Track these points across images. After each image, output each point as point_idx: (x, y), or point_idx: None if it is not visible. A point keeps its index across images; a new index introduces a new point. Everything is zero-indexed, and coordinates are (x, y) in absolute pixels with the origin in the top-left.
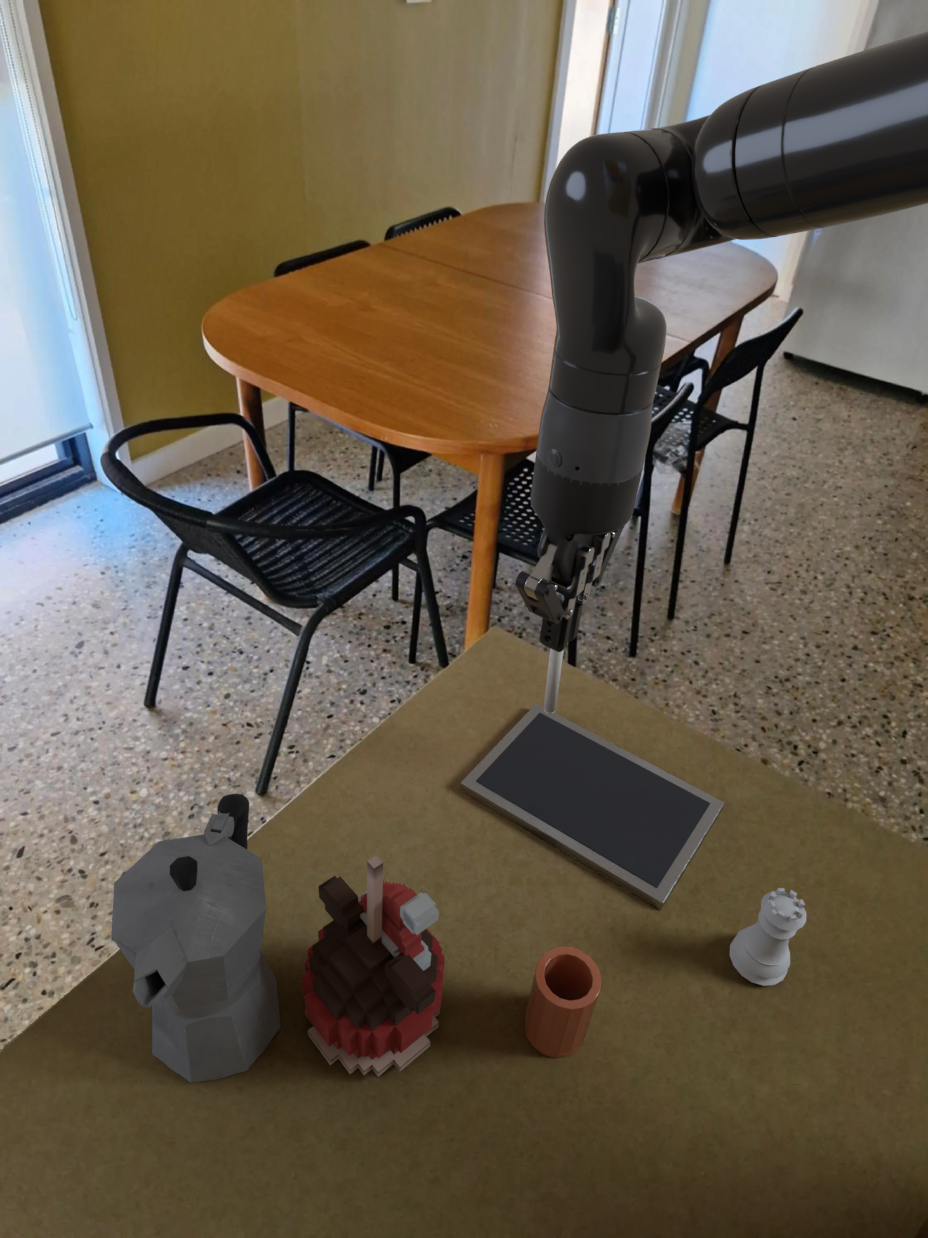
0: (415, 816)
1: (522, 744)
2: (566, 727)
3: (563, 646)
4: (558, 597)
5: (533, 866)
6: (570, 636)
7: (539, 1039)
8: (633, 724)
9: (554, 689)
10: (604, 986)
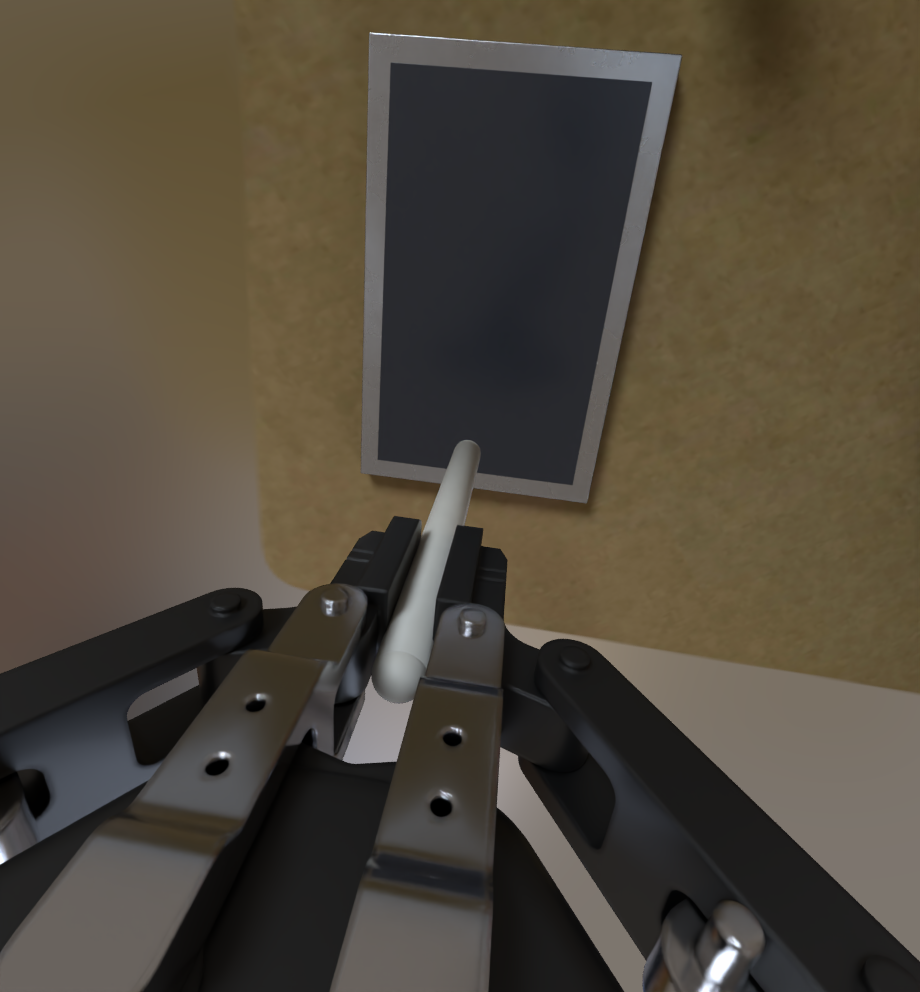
0: (663, 528)
1: None
2: (381, 406)
3: (481, 535)
4: None
5: (677, 328)
6: (417, 533)
7: None
8: (285, 303)
9: (469, 471)
10: (881, 96)
